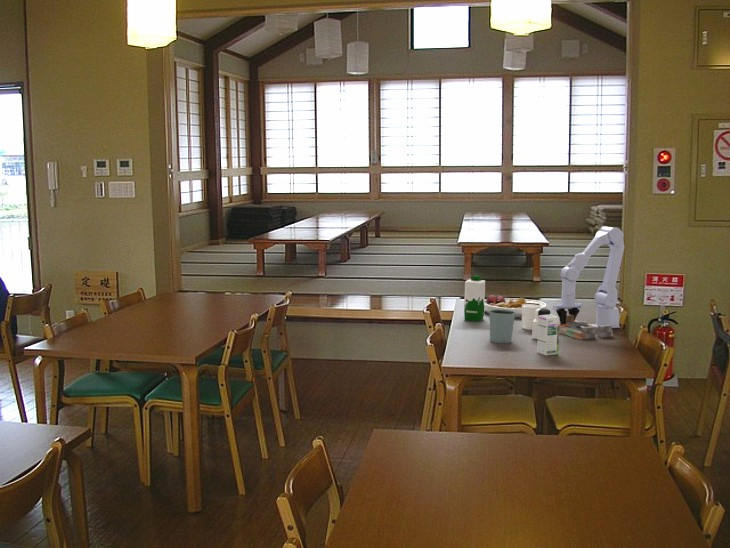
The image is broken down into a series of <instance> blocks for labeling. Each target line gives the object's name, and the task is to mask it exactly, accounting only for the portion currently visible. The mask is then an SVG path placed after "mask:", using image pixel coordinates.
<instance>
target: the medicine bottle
mask: <svg viewBox="0 0 730 548" xmlns="http://www.w3.org/2000/svg"><path fill="white" fill-rule="evenodd" d="M550 314H551V310H550V309H548V308H546V309H544V308H539V309H536V310H535V320H534V321H533V325H532V331H531V334H532V335H531V339H532V340H533V339H534V340H538V316H539V315H550Z"/></svg>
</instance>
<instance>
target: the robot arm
mask: <svg viewBox="0 0 730 548" xmlns="http://www.w3.org/2000/svg"><path fill="white" fill-rule="evenodd" d="M624 235H625V234H624V232H623V231H622V230H621V229H620V228H619V227H611V226H607V225H603V226H601V227H600V228H599V230H597V232H595V236H594V237H593V239H592V240H591V241H590V242H589V243H588V245H587V246H586V247H585V249H584V250H583V252H579V253H577V254H575V255H574V258H573V259H571V261H570V262H568V263H567V265H566V266H565V267H562V268H561V270H560V271H561V272H559V275H560V277H561V298H560V299H561V303H557V304H553V305H552V310H554V311H555V312H556V314H557V316H559V324H565V321H566V315H567V314H571V315H574V321H575V320H576V318H577V316H578V315H579V313H580V309H583V307H584V304H583V303H580V302H578V303H577V302H576V287H577V285H576V283H577V280H578V279H579V277H580V273H581V271H582V270H583V269H584V268H585V267H586V266H587V264H588V263H589V262H590V261H589V260H590V257H591V256H592V255H593V254H594V253H595V252H596V251H597V250H598V249H599V248H600V247H601V246H602V245H608V247H609V249H610V250H609V251H610V252H609V255H608V259H607V264H606V268H605V270H604V277H603V280H602V284H600V285H599V286H598V288H597V291H596V292H595V294H594V297H593V298H594V302H595V303H596V314H595V315H596V317H595V318H596V319H595V324H592V323H591V325H594V326H599V325H611V326H612V329H616V328H617V329H618V328H621V326H620V310H619V308H618V307H616V305H617V304H618V301H619V300H618V289H617V288H616V284H617V280H618V278H619V277H618V276H619V272H620V268H621V265H622V264H621V263H622V261H623V260H622V259H623V255H624V252H625V242H624Z"/></svg>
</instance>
